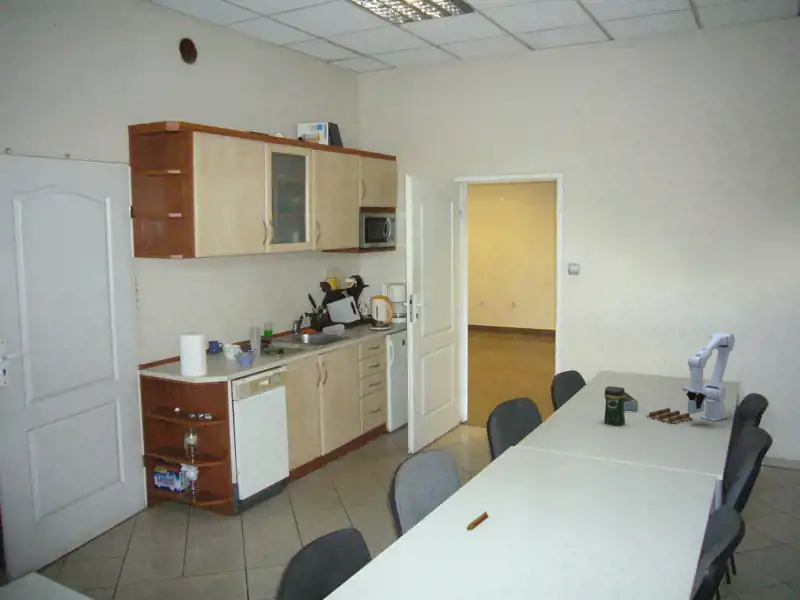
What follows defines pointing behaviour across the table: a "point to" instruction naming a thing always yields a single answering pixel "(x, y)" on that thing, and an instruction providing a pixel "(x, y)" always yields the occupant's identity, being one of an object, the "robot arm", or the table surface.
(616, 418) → the coffee jar
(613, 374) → the table surface
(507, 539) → the table surface
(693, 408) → the tile
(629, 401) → the beverage carton
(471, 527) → the pencil
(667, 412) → the rack
